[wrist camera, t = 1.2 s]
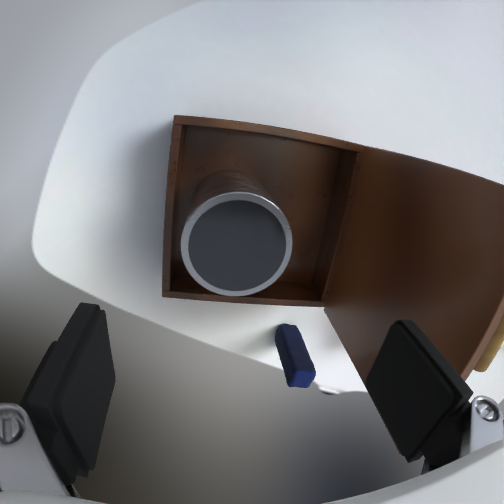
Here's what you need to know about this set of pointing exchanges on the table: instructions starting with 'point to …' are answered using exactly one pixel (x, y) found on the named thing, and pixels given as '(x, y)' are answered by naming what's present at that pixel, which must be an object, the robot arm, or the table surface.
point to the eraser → (294, 356)
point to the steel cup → (235, 235)
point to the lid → (421, 261)
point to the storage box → (280, 190)
